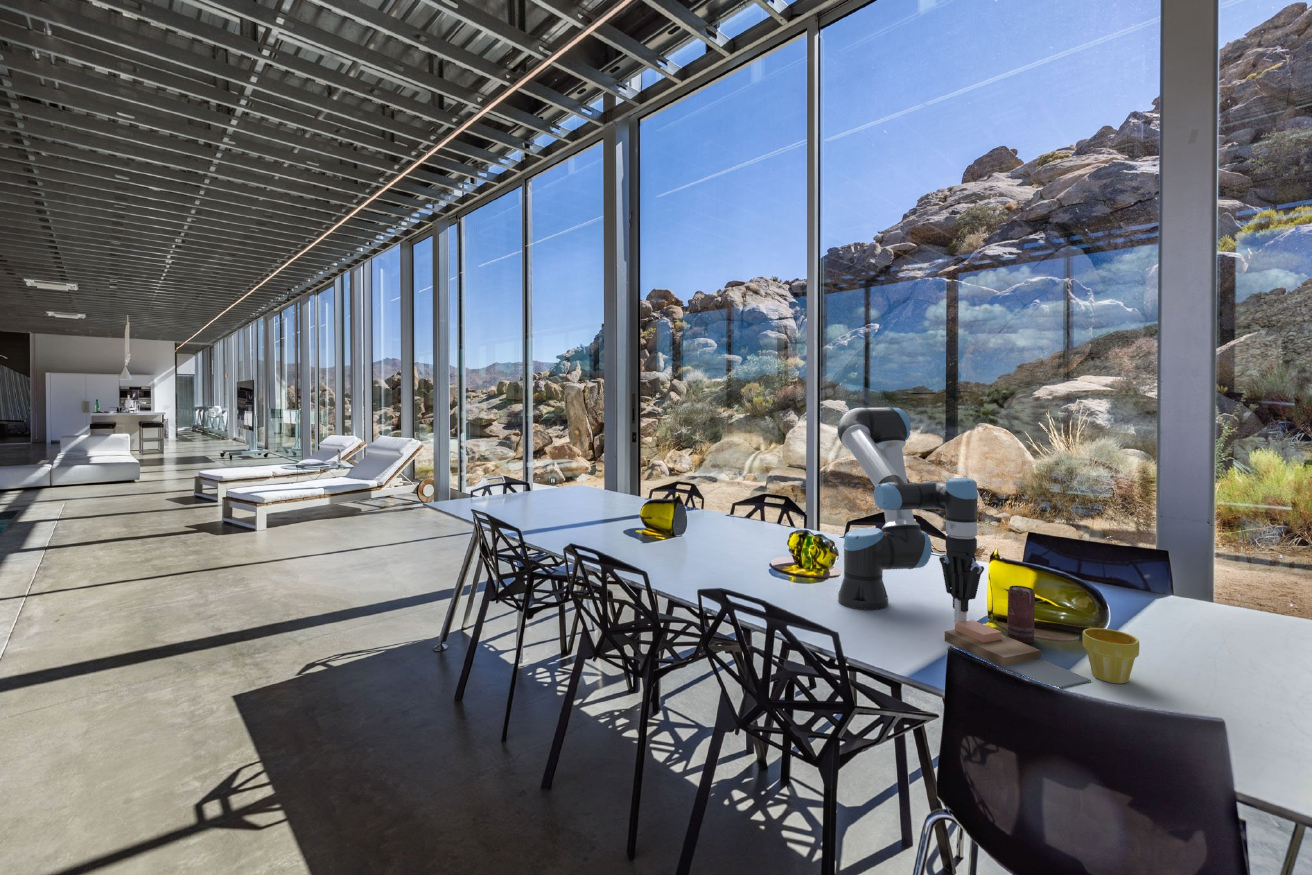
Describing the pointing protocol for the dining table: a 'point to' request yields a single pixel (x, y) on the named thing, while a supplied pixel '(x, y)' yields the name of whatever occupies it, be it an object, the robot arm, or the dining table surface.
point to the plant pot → (1110, 653)
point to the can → (1021, 614)
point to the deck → (995, 648)
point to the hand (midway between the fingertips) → (960, 622)
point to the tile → (978, 631)
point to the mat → (1047, 673)
